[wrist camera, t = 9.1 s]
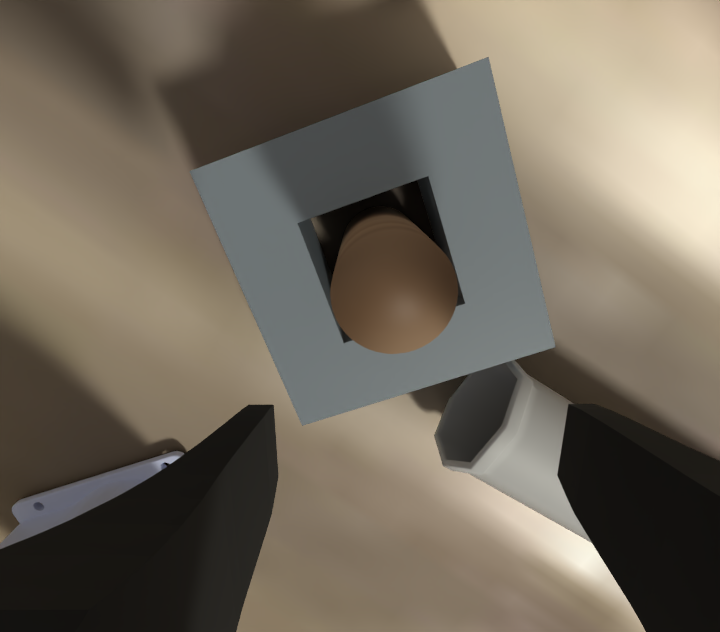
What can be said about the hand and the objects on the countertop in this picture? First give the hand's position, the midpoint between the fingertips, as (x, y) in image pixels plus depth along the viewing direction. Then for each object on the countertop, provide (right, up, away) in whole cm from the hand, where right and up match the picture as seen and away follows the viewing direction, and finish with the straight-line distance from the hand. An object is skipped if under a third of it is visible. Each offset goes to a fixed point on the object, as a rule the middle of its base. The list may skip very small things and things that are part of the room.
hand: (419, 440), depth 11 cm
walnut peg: (-1, +6, +8) cm, 10 cm away
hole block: (-1, +6, +8) cm, 10 cm away
